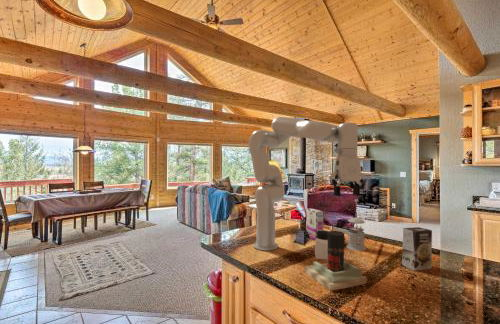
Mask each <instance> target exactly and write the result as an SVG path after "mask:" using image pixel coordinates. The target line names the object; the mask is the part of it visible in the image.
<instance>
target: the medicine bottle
mask: <svg viewBox="0 0 500 324" xmlns="http://www.w3.org/2000/svg"><path fill="white" fill-rule="evenodd" d="M328 231H329V230H327V229H326V230H324V229H323V230H319V231H317V239H315V240H314V255H315V259H316V260H324V261H327V248H328Z"/></svg>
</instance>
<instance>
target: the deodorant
mask: <svg viewBox="0 0 500 324" xmlns="http://www.w3.org/2000/svg"><path fill="white" fill-rule="evenodd" d="M327 231H328V248H327V260H326V262H327V269H329V270H331V271H332V272H339V271H344V261H345V232H342V231H339V230H327Z"/></svg>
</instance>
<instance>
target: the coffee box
mask: <svg viewBox="0 0 500 324" xmlns="http://www.w3.org/2000/svg"><path fill="white" fill-rule="evenodd" d="M432 238H433V230H431V229H427V228H424V227H420V226H416V227H415V226H413V227H403V228H402V258H401V259H402V260H401V262H402V263H401V264H402V266H404V267H406V268H408V269H409V270H412V271H422V270H431V269H432V259H433V258H432V257H433V256H432V251H433V250H432V249H433V248H432V246H433V245H432V243H433V242H432V241H433V239H432Z"/></svg>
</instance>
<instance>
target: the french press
mask: <svg viewBox="0 0 500 324" xmlns="http://www.w3.org/2000/svg"><path fill="white" fill-rule="evenodd" d="M354 202H356V203H355V204H356V205H355V207H356V209H355V210H356V211H355V212H356V213H355V217H352V218H348V219H347V222H349V223H351V224H355V226H349V227H348V229H349V230H348V231H347V234H348V235H347V237H348V239H347V245H345V247H346V249H349V250H351V251H358V252H361V251H362V252H364V251H366V250H367V247H366V246H365V228H363V227H362V226H361V224H362V225H363V224H364V223H366V222H365V220H363V219H362V218H358V215H357V213H358V202H359V199H354ZM357 224H360V226H359V225H357Z"/></svg>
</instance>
